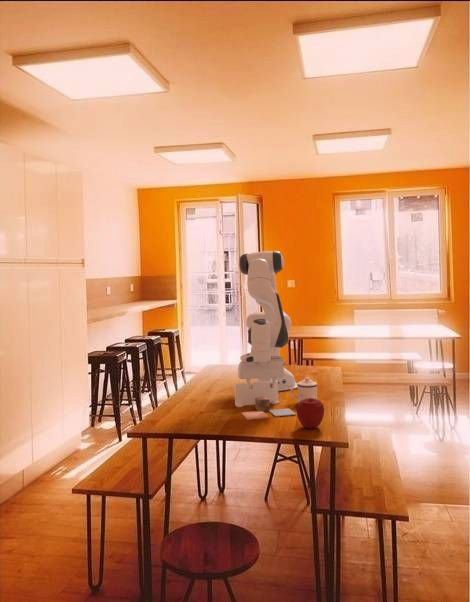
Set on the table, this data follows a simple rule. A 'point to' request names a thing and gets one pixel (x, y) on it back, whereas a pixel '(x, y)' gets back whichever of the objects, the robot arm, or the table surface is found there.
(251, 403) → the screen
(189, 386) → the table surface
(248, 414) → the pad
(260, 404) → the cube with pink top
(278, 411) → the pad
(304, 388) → the teacup with lid
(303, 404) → the apple
